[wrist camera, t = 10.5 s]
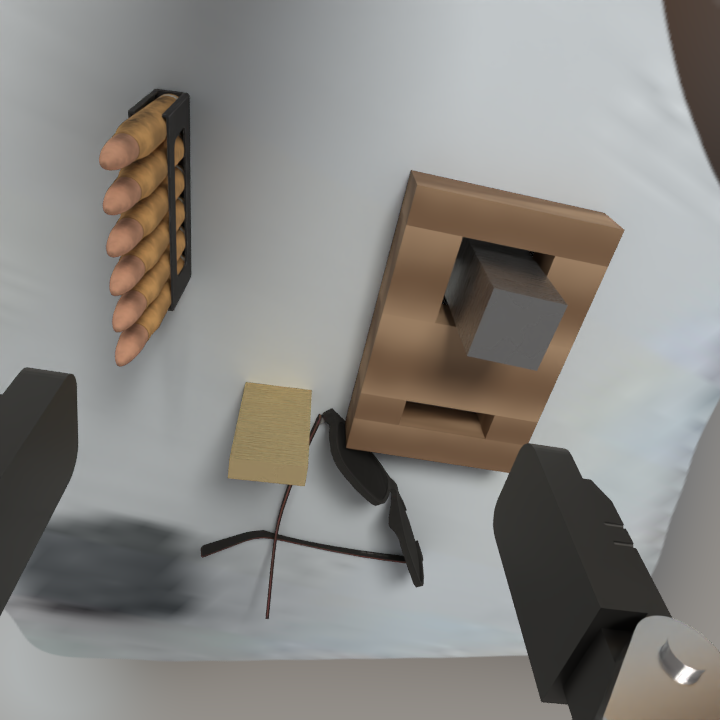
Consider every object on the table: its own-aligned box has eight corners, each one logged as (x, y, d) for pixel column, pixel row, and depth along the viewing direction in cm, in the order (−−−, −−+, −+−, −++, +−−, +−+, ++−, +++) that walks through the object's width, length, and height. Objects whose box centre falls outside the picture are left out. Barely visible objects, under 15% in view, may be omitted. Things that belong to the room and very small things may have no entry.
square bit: (464, 233, 38) (494, 288, 31) (526, 248, 39) (567, 305, 32) (443, 292, 40) (466, 356, 33) (502, 305, 41) (537, 371, 34)
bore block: (411, 170, 36) (417, 184, 34) (604, 213, 38) (624, 229, 35) (345, 421, 45) (345, 447, 42) (504, 446, 47) (514, 473, 44)
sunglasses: (172, 469, 47) (157, 518, 43) (347, 397, 44) (349, 441, 40) (282, 601, 55) (278, 654, 51) (435, 547, 52) (445, 597, 48)
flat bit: (245, 382, 43) (229, 458, 36) (311, 390, 44) (308, 466, 37) (244, 400, 44) (227, 478, 37) (308, 407, 44) (304, 486, 37)
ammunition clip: (191, 278, 39) (141, 384, 29) (160, 275, 39) (99, 380, 29) (189, 92, 34) (127, 142, 23) (153, 88, 33) (75, 136, 23)
